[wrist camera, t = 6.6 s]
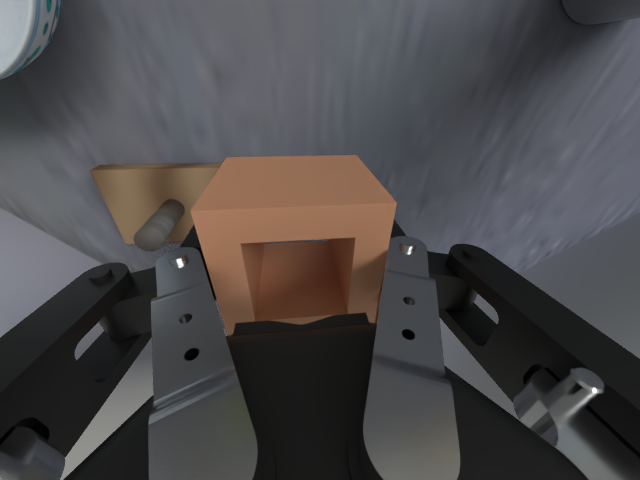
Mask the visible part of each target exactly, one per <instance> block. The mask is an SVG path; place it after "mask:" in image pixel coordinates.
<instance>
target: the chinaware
mask: <svg viewBox="0 0 640 480" xmlns="http://www.w3.org/2000/svg"><path fill="white" fill-rule="evenodd" d="M60 5H61V0H0V80H1V79H3V78H6V77H8V76H10V75H12V74H14V73H16V72H18V71H20V70H21V69H23V68H24V67H26V66H27V65H29V64H30V63H31V62H32V61H34V60H35V59H36V58H37V57H38V56H39V55H40V54H41V53H42V52H43V50H44V49H45V48H46V46H47V45H48V43H49V42H50V40H51V38H52V36H53V34H54V32H55V29H56V26H57V23H58V18H59V13H60Z"/></svg>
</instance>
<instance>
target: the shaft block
mask: <svg viewBox="0 0 640 480" xmlns="http://www.w3.org/2000/svg"><path fill="white" fill-rule="evenodd" d="M222 164H223V163H192V164H138V165H99V166H97V167H95V168H93V169H92V170H90V172H91V174H92V176H93V178H94V180H95V182H96V184H97V186H98V188H99V190H100V192H101V194H102V196H103V198H104V200H105V202H106V205H107V207H108V209H109V211H110V213H111V215H112V217H113V219H114V221H115V223H116V225H117V227H118V229H119V231H120V233H121V235H122V237H123V239H124V242H125V244H136V245H137V246H138V247H139V248H141V249H143V250H145V251H156V250H158V249H159V248H160V247H161V245H162V244H163V243H165V242H183V241H184V240H185V238H186V236H187V235H188V234H189V231H190V230H191V228H192V226H193V225H194V222H193V218H192V215H191V212H190V211H191V209H192V208H193V206H194V205H195V203H196V202H197V200H198V199H199V197H200V196H201V194H202V193H203V191H204V190H205V189H206V187H207V186H208V184H209V183H210V181H211V180H212V178H213V177H214V175H215V174H216V172H217V171H218V169H219V168H220V166H221V165H222Z"/></svg>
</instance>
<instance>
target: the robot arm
mask: <svg viewBox="0 0 640 480" xmlns="http://www.w3.org/2000/svg"><path fill="white" fill-rule="evenodd" d="M562 4H563V7H564V9H565V11H566V13H567V15H568V16H569V17H570V18H571V19H572V20H574V21H575V22H578V23H580V24H584V25H594V24H601V23H607V22H614V21H621V20H627V19H634V18H640V0H562ZM478 294H479V295H480V296H481V297H482V298H484V299H485V300H486V301H487V302H488V303H489V304H490V305H491V306H492V307H493V308H494V309H495V310H496V312H497V314H498V317H499V322H498V324H496V323H495V322H494V321H493V320H492V319H490V318H489V317H488V316H487V315H486V314H485V313H484V312H483V311H482V310H481V309H480V308H479V307H478V306H477V305H476V304H475V303H474V301H475V299H476V297H477V295H478ZM215 300H216V296H215V292H214V289H213V285H212V282H211V279H210V275H209V272H208V269H207V265H206V262H205V259H204V255H203V252H202V248H201V245H200V242H199V238H198V235H197V232H196V228H195V225H193V226H192V228H191V230H190V231H189V234H188V235H187V236H186V238H185V240H184V241H183V243H182V245H181V246H180V248H177V249H173V250H171V251H168V252H166V253H165V254H163V255H162V256H160V257H159V258H158V260H157V261H156V267H154V268H150V269H146V270H142V271H138V272H134V273H130V271H129V269H128V267H127V266H126V265H125V264H122V263H108V264H103V265H100V266H97V267H94V268H92V269H90V270H88V271H86V272H84V273H83V274H82V275H80V276H79V277H78V278H76V279H75V280H74V281H73V282H71V283H70V284H69V285H67V286H66V287H65V288H64V289H62V290H61V291H60V292H58V293H57V294H56V295H54V296H53V297H52V298H51V299H49V300H48V301H47V302H46V303H44V304H43V305H42V306H40V307H39V308H38V309H37V310H35V311H34V312H33V313H31V314H30V315H29V316H28V317H26V318H25V319H24V320H23V321H21V322H20V323H19V324H17V325H16V326H15V327H14V328H12V329H11V330H10V331H8V332H7V333H6V334H4V335H3V336H2V337H1V338H0V480H60V478H61V476H62V473H63V470H64V466H65V457H66V456H67V454H68V453H69V452H70V450H71V449H72V447H73V446H74V445H75V443H76V442H77V440H78V439H79V438H80V436H81V435H82V433H83V432H84V430H85V429H86V428H87V426H88V425H89V424H90V422H91V421H92V419H93V418H94V417H95V415H96V414H97V412H98V411H99V410H100V408H101V407H102V405H103V404H104V403H105V401H106V400H107V398H108V397H109V396H110V394H111V393H112V392H113V390H114V389H115V387H116V386H117V385H118V383H119V382H120V380H121V379H122V377H123V376H124V375H125V373H126V372H127V371H128V369H129V368H130V366H131V365H132V364H133V362H134V361H135V359H136V358H137V357H138V355H139V354H140V352H141V351H142V349H143V348H144V347H145V345H146V344H147V343H148V341H149V340H150V338H151V337H152V355H153V356H152V358H153V391H154V395H153V396H152V397H151V398H149V399H148V400H147V401H146V403H144V404H143V405H142V406H141V407H140V408H139V409H138V410H137V411H136V412H135V413H134V414H133V415H131V416H130V417H129V418H128V419H127V420H126V421H125V422H124V423H123V424H122V425H121V426H120V427H119V428H118V429H117V430H116V431H115V432H113V433H112V434H111V435H110V436H109V437H108V438H107V439H106V440H105V441H104V442H103V443H102V444H101V445H100V446H99V447H98V448H96V450H94V451H93V452H92V453H91V454H90V455H89V456H88V457H87V458H86V459H85V460H84V461H83V462H82V463H81V464H79V465H78V466H77V467H76V468H75V469H74V470H73V471H72V472H71V473H70V474H69V475H68V476H67V477H66V478H65V479H64V480H640V359H639V358H638V357H636V356H635V355H633V354H632V353H631V352H629V351H627V350H626V349H625V348H623V347H622V346H621V345H619V344H618V343H616V342H615V341H613V340H612V339H611V338H609V337H608V336H606V335H605V334H603V333H602V332H600V331H599V330H598V329H596V328H595V327H593V326H592V325H590V324H589V323H588V322H586V321H585V320H583V319H582V318H581V317H579V316H578V315H576V314H575V313H573V312H572V311H571V310H569V309H568V308H566V307H565V306H563V305H562V304H560V303H559V302H558V301H556V300H555V299H553V298H552V297H551V296H549V295H548V294H546V293H545V292H544V291H542V290H541V289H539V288H538V287H536V286H535V285H534V284H532V283H531V282H529V281H528V280H526V279H525V278H523V277H522V276H521V275H519V274H518V273H516V272H515V271H514V270H512V269H511V268H509V267H508V266H506V265H505V264H504V263H502V262H501V261H499V260H498V259H496V258H495V257H494V256H492V255H491V254H489V253H488V252H486V251H485V250H483V249H481V248H479V247H476V246H473V245H469V244H456V245H453V246H452V247H451V248H450V251H449V254H442V253H435V252H429V251H427V247H426V245H425V244H424V243H423V242H421V241H420V240H418V239H415V238H412V237H408V236H406V235H405V234H404V232H403V231H402V229H401V228H400V227H399V225H398V224H397V223H396V221H395V220H394V221H393V226H392V231H391V236H390V242H389V247H388V250H387V256H386V261H385V267H384V273H383V278H382V283H381V288H380V293H379V297H378V303H377V309H376V315H375V321H374V323H370V322H369V321H368V318H367V315H366V312H365V313H352V314H340V315H333V316H330V317H327V318H323V319H320V320H317V321H314V322H310V323H307V324H302V325H301V324H292V323H285V322H278V321H270V320H266V321H254V322H241V323H235V327H234V332H233V334H231V335H228V336H226V337H225V333H224V330H223V327H222V324H221V320H220V317H219V314H218V310H217V307H216V304H215ZM439 317H440V318H441V319H442V320H443V322H444V323H445V324H446V325H447V326H448V328H449V329H450V330H451V331H452V332H453V333H454V335H455V336H456V337H457V338H458V339H459V340H460V342H461V343H462V344H463V345H464V346H465V347H466V348H467V350H468V351H469V352H470V353H471V354H472V356H473V357H474V358H475V359H476V360H477V361H478V362H479V364H480V365H481V366H482V367H483V368H484V369H485V371H486V372H487V373H488V374H489V375H490V377H491V378H492V379H493V380H494V381H495V382H496V384H497V385H498V386H499V387H500V388H501V389H502V391H503V392H504V393H505V394H506V395H507V396H508V398H509V399H510V400H511V401H512V402H513V403H514V409H515V412H516V415H517V416H518V418H519V420H520V421H519V420H518V419H516V418H515V417H514V416H512V415H511V414H510V413H508V412H507V411H505V410H504V409H503V408H501V407H500V406H499V405H497V404H496V403H495V402H493V401H492V400H490V399H489V398H488V397H486V396H485V395H484V394H482V393H481V392H480V391H478V390H477V389H476V388H474V387H473V386H471V385H470V384H468V383H467V382H466V381H465V380H463V379H462V378H460V377H459V376H458V375H457V374H455V373H454V372H452V371H451V370H450V369H448V368H447V367H446V366H444V358H443V348H442V340H441V330H440V319H439ZM98 322H99V323H100V324H101V326H102V327H103V329H104V332H103V333H102V334H101V335H100V336H99V337H98V338H97V339H96V340H95V341H94V343H93V344H92V345H91V346H90V347H89V348H88V349H87V350H86V351H85V352H84V353H83V354H82V356H81V357H80V358H79V359H78V360H77V361H76V359H75V356H74V352H75V349H76V346H77V344H78V343H79V341H80V340H81V339H82V338H83V337H84V336H85V335H86V334H87V333H88V332H89V331H90V330H91V329H92V328H93V327H94V326H95V325H96V324H97V323H98Z"/></svg>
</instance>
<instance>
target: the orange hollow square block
mask: <svg viewBox="0 0 640 480" xmlns="http://www.w3.org/2000/svg"><path fill="white" fill-rule="evenodd" d="M396 205H397V202H396V201H395V200H394V199H393V197H392V196H391V195H390V194H389V193H388V192H387V190H386V189H385V188H384V187H383V186H382V184H381V183H380V182H379V181H378V180H377V179H376V177H375V176H374V175H373V174H372V173H371V172H370V170H369V169H368V168H367V167H366V166H365V164H364V163H363V162H362V161H361V160H360V159H359V157H358V156H357V155H322V156H270V157H227V158H226V159H225V161H224V162H223V164H222V165H221V166H220V168H219V169H218V171H217V172H216V174H215V175H214V177H213V178H212V180H211V181H210V183H209V184H208V186H207V187H206V189H205V190H204V191H203V193H202V194H201V196H200V197H199V199H198V200H197V202H196V203H195V205H194V206H193V208H192V209H191V211H190V212H191V215H192V218H193V222H194V225H195V228H196V232H197V235H198V238H199V242H200V245H201V248H202V252H203V255H204V259H205V262H206V265H207V269H208V272H209V275H210V279H211V282H212V285H213V289H214V292H215V296H216V299H217V302H218V306H219V309H220V312H221V316H222V319H223V322H224V326H225V329H226V332H227V336H228V335H231V334H233V332H234V327H235V323H241V322H254V321H266V320H270V321H278V322H285V323H292V324H301V325H302V324H307V323H310V322H314V321H317V320H320V319H323V318H327V317H330V316H333V315H340V314H352V313H365V312H366V315H367V318H368V321H369V322H370V323H374V319H375V314H376V309H377V303H378V297H379V293H380V288H381V283H382V278H383V273H384V267H385V261H386V256H387V250H388V247H389V242H390V236H391V231H392V226H393V221H394V216H395V211H396ZM316 239H329V240H328V241H310V242H291V243H272V244H265V243H264V242H278V241H297V240H316Z"/></svg>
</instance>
